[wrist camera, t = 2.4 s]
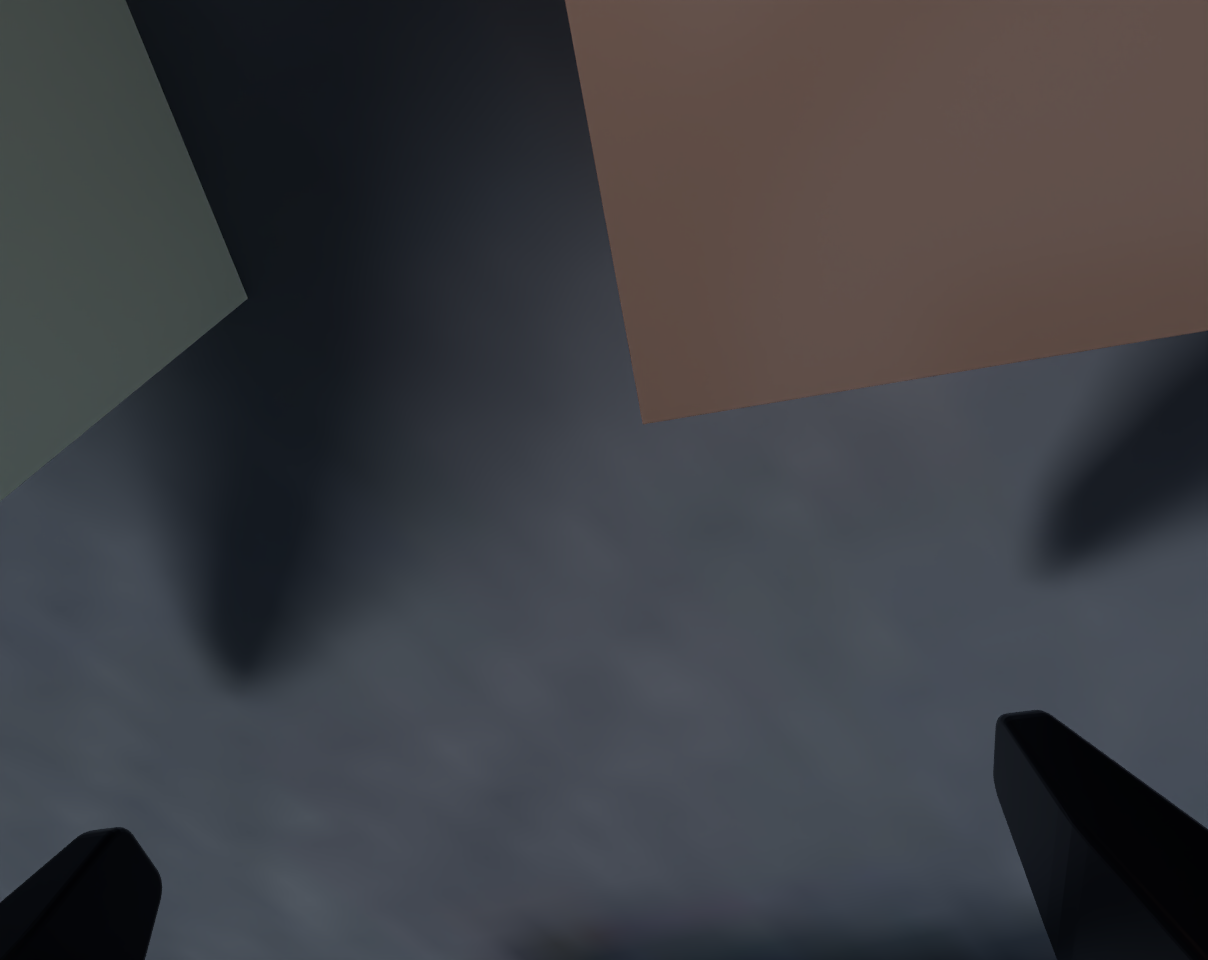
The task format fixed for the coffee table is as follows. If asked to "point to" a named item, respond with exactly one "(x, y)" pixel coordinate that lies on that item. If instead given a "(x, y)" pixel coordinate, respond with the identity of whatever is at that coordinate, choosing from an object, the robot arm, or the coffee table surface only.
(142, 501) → the coffee table surface
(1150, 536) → the coffee table surface
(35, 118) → the pale green cube
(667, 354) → the salmon pink cube
